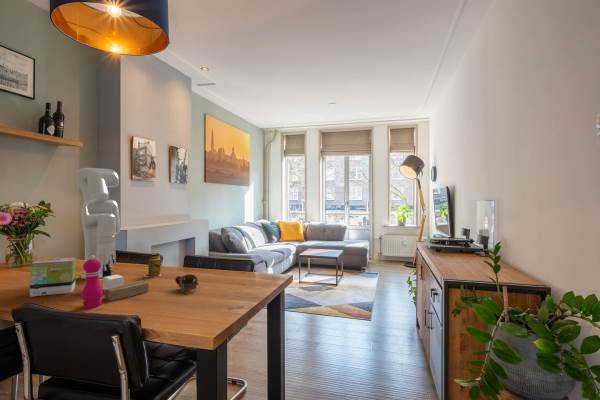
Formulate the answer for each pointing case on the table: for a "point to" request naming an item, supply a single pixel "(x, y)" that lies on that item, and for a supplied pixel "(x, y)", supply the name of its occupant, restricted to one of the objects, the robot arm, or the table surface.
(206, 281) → the table surface
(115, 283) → the block
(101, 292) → the pepper mill
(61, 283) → the tea box
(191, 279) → the pottery mug
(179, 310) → the table surface
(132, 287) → the board
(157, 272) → the condiment
